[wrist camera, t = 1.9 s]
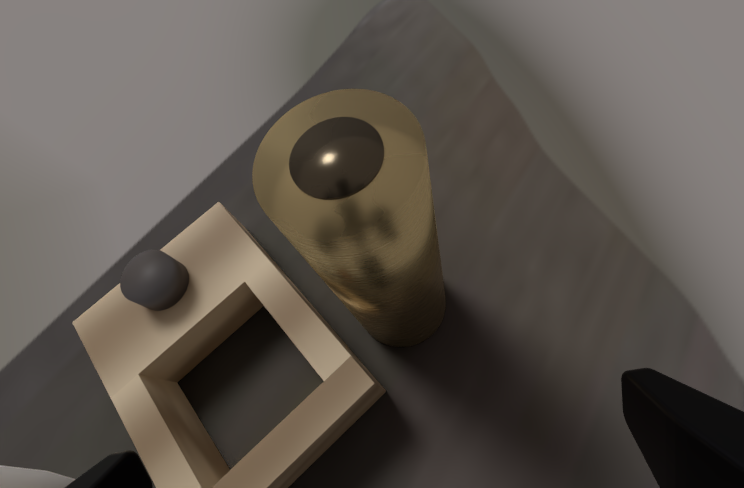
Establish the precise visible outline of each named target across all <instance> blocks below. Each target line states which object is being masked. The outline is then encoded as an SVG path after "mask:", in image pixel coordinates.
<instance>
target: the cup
mask: <svg viewBox="0 0 744 488" xmlns="http://www.w3.org/2000/svg"><path fill="white" fill-rule="evenodd" d="M74 480H76V479H73V478H69V477H66V476H63V475H59V474H56V473H53V472H49V471H44V470H35V469H27V468H18V467H10V466H1V465H0V488H65V487H66V486H67V485H69V484H70V483H71V482H73V481H74Z"/></svg>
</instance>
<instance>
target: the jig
mask: <svg viewBox="0 0 744 488" xmlns="http://www.w3.org/2000/svg"><path fill="white" fill-rule="evenodd" d="M263 306H265V308H266V309H267V310H268V311H269V313H270V314H271V315H272V316H273V318H274V319H275V320H276V321H277V323H278V324H279V325H280V327H281V328H282V329H283V330H284V332H285V333H286V334H287V335H288V337H289V338H290V339H291V340H292V342H293V343H294V344H295V345H296V347H297V348H298V349H299V350H300V352H301V353H302V354H303V355H304V357H305V358H306V359H307V360H308V362H309V363H310V364H311V366H312V367H313V368H314V369H315V371H316V372H317V373H318V374H319V376H320V377H321V378H322V379H323V381H324V382H323V383H322V384H321V385H320V386H319V387H318V388H316V389H315V390H314V391H313V392H312V393H311V394H310V395H309V396H308V397H307V398H306V399H305V400H304V401H303V402H302V403H301V404H300V405H299V406H297V407H296V408H295V409H294V410H293V411H292V412H291V413H290V414H289V415H288V416H287V417H286V418H285V419H284V420H283V421H282V422H281V423H279V424H278V425H277V426H276V427H275V428H274V429H273V430H272V431H271V432H270V433H269V434H268V435H267V436H266V437H265V438H264V439H263V440H262V441H260V442H259V443H258V444H257V445H256V446H255V447H254V448H253V449H252V450H251V451H250V452H249V453H248V454H247V455H246V456H245V457H244V458H243V459H241V460H240V461H239V462H238V463H237V464H236V465H235V466H234V467H233V468H232V469H231V470H230V469H229V467H228V466H227V464H226V462H225V461H224V459H223V457H222V456H221V454H220V452H219V451H218V449H217V448H216V446H215V444H214V443H213V441H212V439H211V438H210V436H209V434H208V433H207V431H206V429H205V428H204V426H203V424H202V423H201V421H200V419H199V418H198V416H197V414H196V413H195V411H194V409H193V408H192V406H191V404H190V403H189V401H188V399H187V398H186V396H185V394H184V393H183V391H182V390H181V388H180V386H179V385H178V383H177V382H179V381H180V380H181V379H182V378H183V377H184V376H185V375H186V374H188V373H189V372H190V371H191V370H192V369H193V368H194V367H195V366H197V365H198V364H199V363H200V362H201V361H202V360H203V359H204V358H206V357H207V356H208V355H209V354H210V353H211V352H212V351H213V350H215V349H216V348H217V347H218V346H219V345H220V344H221V343H222V342H224V341H225V340H226V339H227V338H228V337H229V336H230V335H231V334H233V333H234V332H235V331H236V330H237V329H238V328H239V327H240V326H242V325H243V324H244V323H245V322H246V321H247V320H248V319H249V318H251V317H252V316H253V315H254V314H255V313H256V312H257V311H259V310H260V309H261V308H262V307H263ZM72 323H73V325H74V327H75V329H76V331H77V333H78V334H79V336H80V338H81V340H82V342H83V344H84V346H85V348H86V350H87V352H88V354H89V356H90V358H91V360H92V362H93V364H94V366H95V368H96V370H97V372H98V374H99V376H100V378H101V380H102V382H103V384H104V386H105V388H106V390H107V392H108V394H109V396H110V398H111V400H112V401H113V403H114V405H115V407H116V409H117V411H118V413H119V415H120V417H121V419H122V421H123V423H124V425H125V427H126V429H127V431H128V433H129V435H130V437H131V439H132V441H133V443H134V445H135V447H136V449H137V451H138V453H139V455H140V457H141V459H142V461H143V463H144V465H145V466H146V468H147V470H148V472H149V474H150V476H151V478H152V480H153V482H154V484H155V486H156V488H288V487H289V486H290V485H291V484H292V483H293V482H294V481H295V480H296V479H297V478H298V477H299V476H300V475H301V474H303V473H304V472H305V471H306V470H307V469H308V468H309V467H310V466H311V465H312V464H313V463H314V462H315V461H316V460H317V459H318V458H319V457H320V456H321V455H322V454H323V453H324V452H325V451H326V450H327V449H328V448H329V447H330V446H331V445H332V444H333V443H334V442H335V441H336V440H337V439H338V438H339V437H340V436H341V435H342V434H343V433H344V432H345V431H346V430H347V429H348V428H350V427H351V426H352V425H353V424H354V423H355V422H356V421H357V420H358V419H359V418H360V417H361V416H362V415H363V414H364V413H365V412H366V411H367V410H368V409H369V408H370V407H371V406H372V405H373V404H374V403H375V402H376V401H377V400H378V399H379V398H380V397H381V396H382V395H383V394H384V393H385V392H386V390H385V389H384V388H383V387H382V385H381V384H380V383H379V382H378V381H377V380H376V378H375V377H374V376H373V375H372V374H371V373H370V372H369V370H368V369H367V368H366V367H365V366H364V365H363V363H362V362H361V361H360V360H359V359H358V358H357V356H356V355H355V354H354V353H353V352H352V351H351V350H350V348H349V347H348V346H347V345H346V344H345V343H344V341H343V340H342V339H341V338H340V337H339V336H338V335H337V333H336V332H335V331H334V330H333V329H332V328H331V326H330V325H329V324H328V323H327V322H326V321H325V319H324V318H323V317H322V316H321V315H320V314H319V313H318V311H317V310H316V309H315V308H314V307H313V306H312V304H311V303H310V302H309V301H308V300H307V299H306V297H305V296H304V295H303V294H302V293H301V292H300V291H299V289H298V288H297V287H296V286H295V285H294V284H293V282H292V281H291V280H290V279H289V278H288V277H287V275H286V274H285V273H284V272H283V271H282V270H281V269H280V267H279V266H278V265H277V264H276V263H275V262H274V260H273V259H272V258H271V257H270V256H269V255H268V254H267V252H266V251H265V250H264V249H263V248H262V247H261V245H260V244H259V243H258V242H257V241H256V240H255V238H254V237H253V236H252V235H251V234H250V233H249V232H248V230H247V229H246V228H245V227H244V226H243V225H242V224H241V223H240V222H239V221H238V220H237V219H236V218H235V217H234V216H233V215H232V214H231V213H230V212H229V211H228V210H227V209H226V208H225V207H224V206H223V205H222V204H221V203H220V202H218V203H217V204H215V205H214V206H213V207H212V208H210V209H209V210H208V211H207V212H206V213H204V214H203V215H202V216H201V217H200V218H198V219H197V220H196V221H195V222H194V223H192V224H191V225H190V226H189V227H187V228H186V229H185V230H184V231H183V232H181V233H180V234H179V235H178V236H177V237H175V238H174V239H173V240H172V241H170V242H169V243H168V244H167V245H166V246H164V247H163V248H162V249H161V250H156V249H152V250H146V251H144V252H141V253H139V254H138V255H136V256H135V257H134V258H133V259H132V260H131V261H130V262H129V263H128V264H127V265H126V267H125V269H124V271H123V273H122V275H121V280H120V284H118V285H117V286H116V287H115V288H113V289H112V290H111V291H110V292H109V293H107V294H106V295H105V296H104V297H103V298H101V299H100V300H99V301H98V302H97V303H95V304H94V305H93V306H92V307H90V308H89V309H88V310H87V311H86V312H84V313H83V314H82V315H81V316H80V317H78V318H77V319H76V320H75V321H73V322H72Z"/></svg>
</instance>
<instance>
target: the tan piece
mask: <svg viewBox="0 0 744 488" xmlns="http://www.w3.org/2000/svg"><path fill="white" fill-rule="evenodd" d="M253 187H254V192H255V195H256V198H257V200H258V202H259V204H260V206H261V208H262V209H263V211H264V212H265V213H266V214H267V216H268V217H269V218H270V219H271V220H272V221H273V223H274V224H275V225H276V226H277V227H278V228H279V230H280V231H281V232H282V233H283V234H284V235H285V237H286V238H287V239H288V240H289V241H290V242H291V243H292V245H293V246H294V247H295V248H296V249H297V250H298V252H299V253H300V254H301V255H302V256H303V257H304V258H305V260H306V261H307V262H308V263H309V264H310V265H311V267H312V268H313V269H314V270H315V271H316V272H317V274H318V275H319V276H320V277H321V278H322V279H323V280H324V282H325V283H326V284H327V285H328V286H329V287H330V289H331V290H332V291H333V292H334V293H335V294H336V296H337V297H338V298H339V299H340V300H341V301H342V302H343V304H344V305H345V306H346V307H347V308H348V309H349V311H350V312H351V313H352V314H353V315H354V316H355V318H356V319H357V320H358V321H359V322H360V323H361V324H362V326H363V327H364V328H365V329H366V330H367V331H368V333H369V334H370V335H371V336H372V337H374V338H375V339H376V340H378V341H380V342H381V343H383V344H386V345H389V346H393V347H408V346H413V345H416V344H419V343H421V342H423V341H425V340H426V339H428V338H429V337H430V336H431V335H432V334H433V333H434V332H435V331H436V330H437V329H438V327H439V326H440V324H441V322H442V320H443V317H444V314H445V309H446V298H445V290H444V282H443V275H442V267H441V259H440V251H439V244H438V236H437V228H436V220H435V213H434V205H433V197H432V189H431V182H430V174H429V166H428V158H427V151H426V143H425V138H424V134H423V131H422V129H421V126H420V124H419V122H418V121H417V119H416V118H415V116H414V115H413V114H412V113H411V111H410V110H409V109H408V108H407V107H405V106H404V105H403V104H402V103H400V102H399V101H397V100H396V99H394V98H392V97H390V96H388V95H385V94H383V93H379V92H376V91H371V90H365V89H342V90H336V91H331V92H327V93H323V94H320V95H317V96H315V97H312V98H310V99H308V100H306V101H304V102H302V103H300V104H299V105H297V106H295V107H294V108H292V109H291V110H290V111H288V112H287V113H286V114H284V115H283V116H282V117H281V118H280V119H279V120H278V121H277V122H276V123H275V124H274V125H273V126H272V127H271V129H270V130H269V131H268V133H267V134H266V135H265V137H264V139H263V141H262V142H261V144H260V146H259V149H258V151H257V153H256V157H255V160H254V165H253Z"/></svg>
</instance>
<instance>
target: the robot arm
mask: <svg viewBox="0 0 744 488" xmlns="http://www.w3.org/2000/svg"><path fill="white" fill-rule="evenodd" d="M621 382H622V401H623V413H624V417H625V420H626V423H627V425H628V427H629V429H630V431H631V433H632V435H633V437H634V439H635V441H636V443H637V444H638V446H639V448H640V450H641V452H642V454H643V456H644V458H645V460H646V462H647V464H648V466H649V468H650V470H651V471H652V473H653V475H654V477H655V479H656V481H657V483H658V485H659V487H660V488H744V412H743V411H741V410H739V409H737V408H735V407H732V406H730V405H728V404H726V403H724V402H722V401H720V400H717V399H715V398H713V397H711V396H709V395H707V394H705V393H702V392H700V391H698V390H696V389H694V388H692V387H690V386H687V385H685V384H683V383H681V382H679V381H677V380H675V379H672V378H670V377H668V376H666V375H664V374H662V373H660V372H657V371H655V370H653V369H650V368H641V369H635V370H629V371H625V372H624V373H623V374H622V378H621ZM65 488H152V481H151V479H150V477H149V475H148V473H147V471H146V469H145V467H144V465H143V463H142V462H141V460H140V458H139V456H138V454H137V453H135V452H134V451H124V452H117V453H113V454H111V455H109V456H107V457H106V458H104V459H103V460H102V461H100V462H99V463H98V464H96V465H95V466H93V467H92V468H91V469H89V470H88V471H87V472H85V473H84V474H82V475H81V476H80V477H78V478H77V479H76V480H74V481H73V482H71V483H70V484H69V485H67V486H66V487H65Z"/></svg>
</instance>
